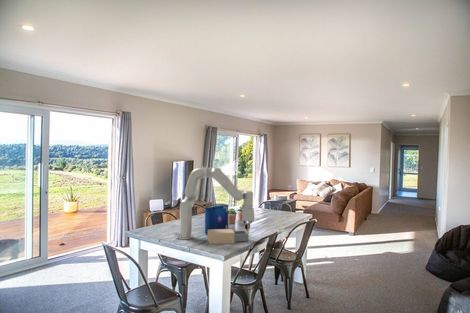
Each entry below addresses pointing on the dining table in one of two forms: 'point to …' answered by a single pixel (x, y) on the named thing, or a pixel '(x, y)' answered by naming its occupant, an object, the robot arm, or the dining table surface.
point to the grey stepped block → (242, 235)
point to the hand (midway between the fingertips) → (247, 229)
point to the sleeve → (220, 236)
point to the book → (216, 217)
